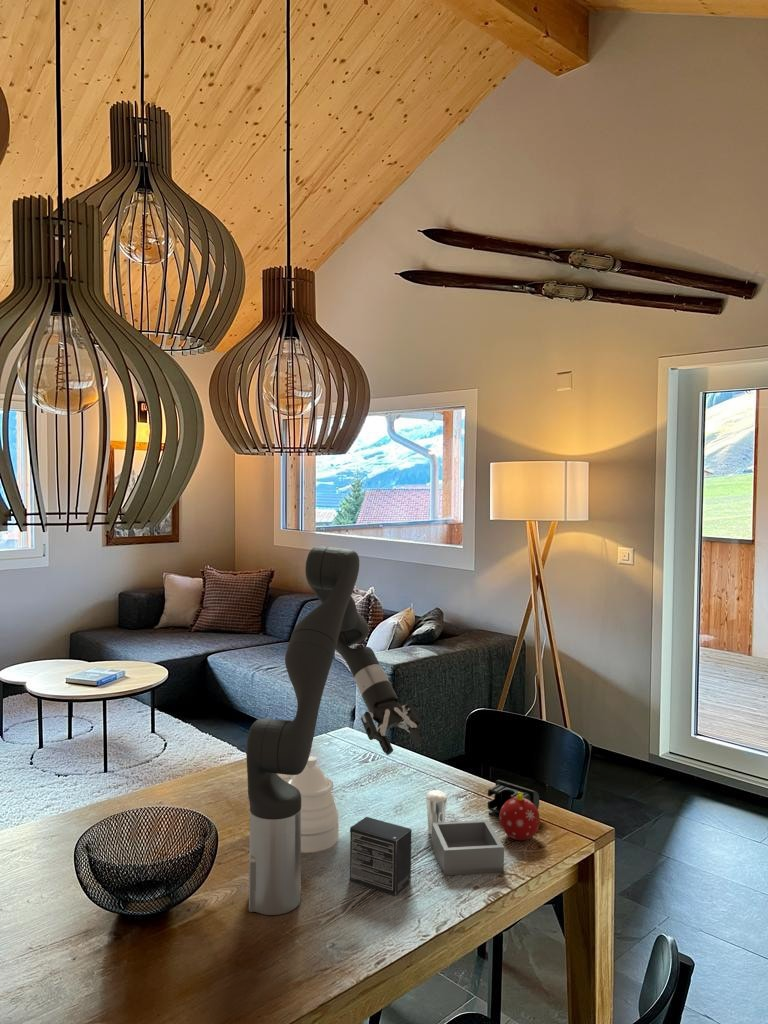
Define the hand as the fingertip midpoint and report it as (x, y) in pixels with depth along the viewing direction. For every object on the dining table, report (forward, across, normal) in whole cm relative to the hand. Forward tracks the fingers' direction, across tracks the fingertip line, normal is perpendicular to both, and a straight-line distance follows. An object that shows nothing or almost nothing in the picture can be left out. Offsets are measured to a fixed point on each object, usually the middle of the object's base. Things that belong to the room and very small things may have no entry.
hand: (405, 749), depth 175 cm
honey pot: (+9, -24, +13) cm, 29 cm away
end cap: (+22, +20, 0) cm, 29 cm away
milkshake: (+19, 0, +3) cm, 19 cm away
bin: (+27, -3, -6) cm, 28 cm away
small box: (+25, -22, -3) cm, 33 cm away
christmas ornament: (+28, +13, -6) cm, 31 cm away
